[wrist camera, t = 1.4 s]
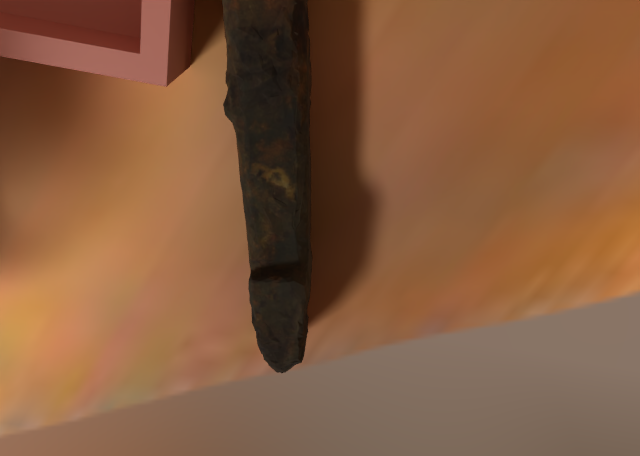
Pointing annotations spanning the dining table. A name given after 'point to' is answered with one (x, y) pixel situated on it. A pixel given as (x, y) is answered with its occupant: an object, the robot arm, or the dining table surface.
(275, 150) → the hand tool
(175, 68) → the pink tray
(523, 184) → the dining table surface
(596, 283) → the dining table surface
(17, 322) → the dining table surface
